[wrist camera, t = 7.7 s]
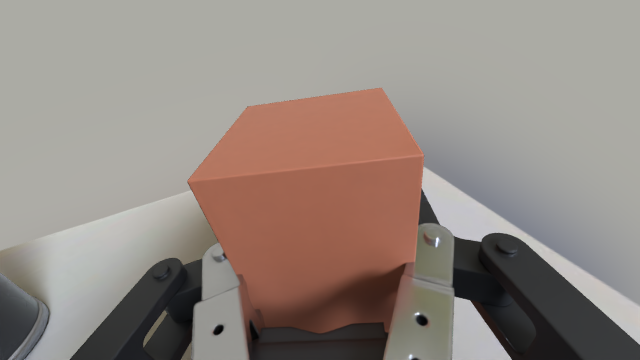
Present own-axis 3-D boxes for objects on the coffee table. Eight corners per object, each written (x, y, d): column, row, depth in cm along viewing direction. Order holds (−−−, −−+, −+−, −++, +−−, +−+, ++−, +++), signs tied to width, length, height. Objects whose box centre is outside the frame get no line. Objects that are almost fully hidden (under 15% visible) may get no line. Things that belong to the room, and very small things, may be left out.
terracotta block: (287, 374, 12) (186, 180, 6) (298, 274, 17) (247, 106, 10) (406, 371, 11) (424, 154, 5) (384, 268, 16) (381, 87, 10)
